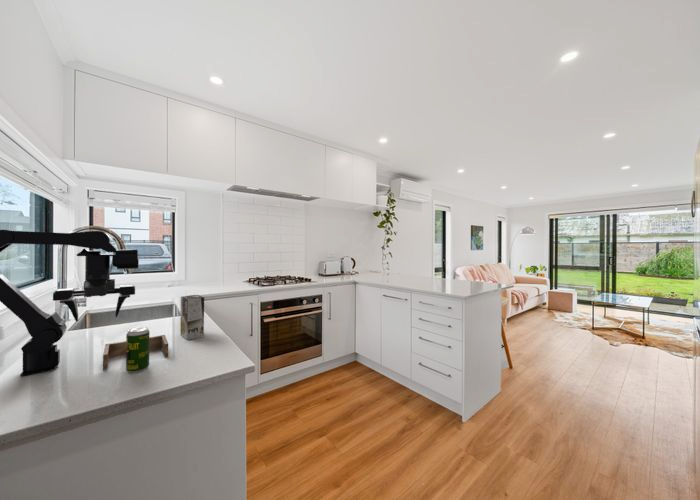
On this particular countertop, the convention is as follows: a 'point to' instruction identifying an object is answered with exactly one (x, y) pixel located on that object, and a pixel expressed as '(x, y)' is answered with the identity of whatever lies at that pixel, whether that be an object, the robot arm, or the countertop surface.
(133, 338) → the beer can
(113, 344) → the wooden u-shaped frame
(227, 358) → the countertop surface
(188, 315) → the coffee box
